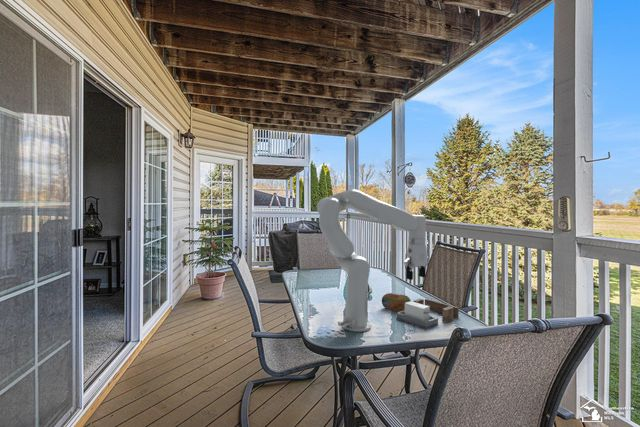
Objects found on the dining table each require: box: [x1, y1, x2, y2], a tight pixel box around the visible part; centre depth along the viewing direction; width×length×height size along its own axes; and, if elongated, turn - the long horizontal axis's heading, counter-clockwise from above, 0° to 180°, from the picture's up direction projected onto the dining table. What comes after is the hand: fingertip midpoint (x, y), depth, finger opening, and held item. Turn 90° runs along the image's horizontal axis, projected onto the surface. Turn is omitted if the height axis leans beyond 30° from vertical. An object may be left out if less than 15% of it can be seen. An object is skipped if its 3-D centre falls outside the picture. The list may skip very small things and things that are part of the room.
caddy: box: [405, 300, 432, 322], centre depth 145 cm, size 5×11×7 cm, turn 38°
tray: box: [396, 310, 439, 330], centre depth 145 cm, size 10×16×3 cm, turn 38°
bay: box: [412, 298, 460, 324], centre depth 155 cm, size 11×18×6 cm, turn 38°
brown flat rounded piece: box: [381, 292, 412, 312], centre depth 162 cm, size 15×3×8 cm, turn 62°
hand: (415, 278), depth 145 cm, fingers open, 9 cm apart
